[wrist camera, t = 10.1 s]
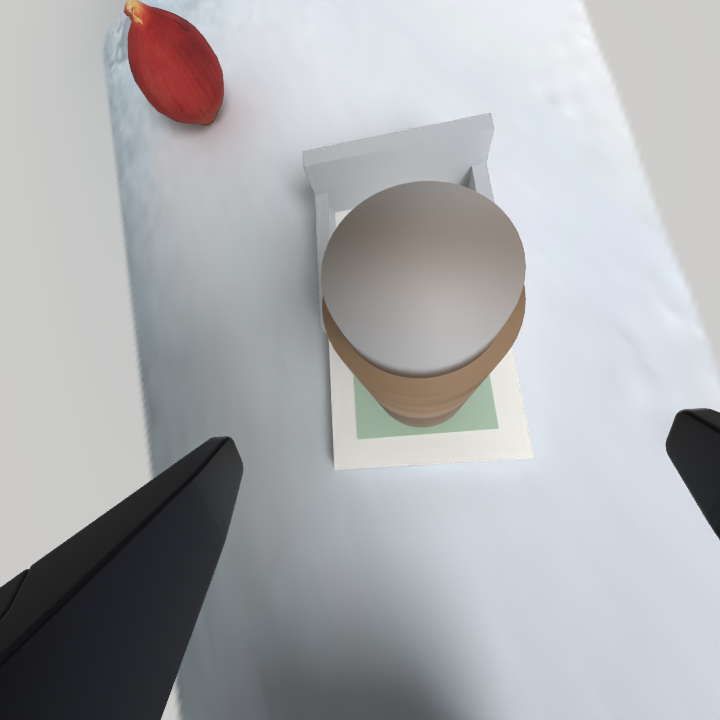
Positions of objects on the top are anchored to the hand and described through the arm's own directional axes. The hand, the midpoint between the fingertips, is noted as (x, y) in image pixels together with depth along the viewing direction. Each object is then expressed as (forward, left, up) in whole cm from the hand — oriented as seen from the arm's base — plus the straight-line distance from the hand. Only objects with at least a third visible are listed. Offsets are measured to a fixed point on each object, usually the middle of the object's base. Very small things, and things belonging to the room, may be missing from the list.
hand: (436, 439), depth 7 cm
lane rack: (+8, +1, -12) cm, 14 cm away
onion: (+24, +19, -12) cm, 33 cm away
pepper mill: (+3, +1, -11) cm, 12 cm away
